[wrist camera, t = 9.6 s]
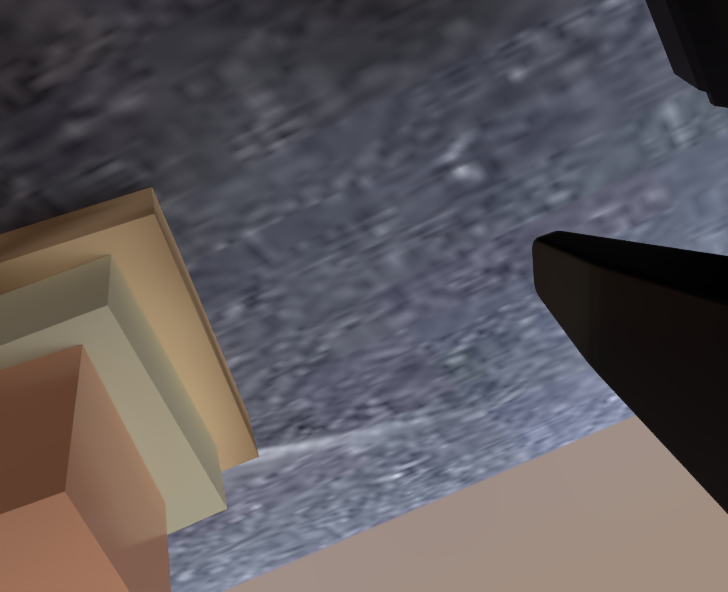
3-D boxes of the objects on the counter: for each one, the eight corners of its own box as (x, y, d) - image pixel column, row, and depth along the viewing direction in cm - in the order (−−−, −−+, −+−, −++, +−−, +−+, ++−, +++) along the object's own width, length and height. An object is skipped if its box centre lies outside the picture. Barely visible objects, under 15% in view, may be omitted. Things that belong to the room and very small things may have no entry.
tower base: (151, 180, 20) (154, 213, 17) (246, 406, 25) (259, 456, 23) (-183, 284, 18) (-232, 337, 16) (-5, 501, 24) (-22, 566, 21)
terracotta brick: (82, 344, 15) (64, 491, 11) (165, 502, 18) (175, 662, 14) (-114, 405, 14) (-211, 589, 10) (8, 560, 18) (-29, 747, 14)
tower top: (111, 254, 18) (107, 305, 15) (216, 444, 22) (227, 508, 19) (-183, 363, 16) (-240, 437, 14) (-11, 540, 21) (-30, 621, 18)
